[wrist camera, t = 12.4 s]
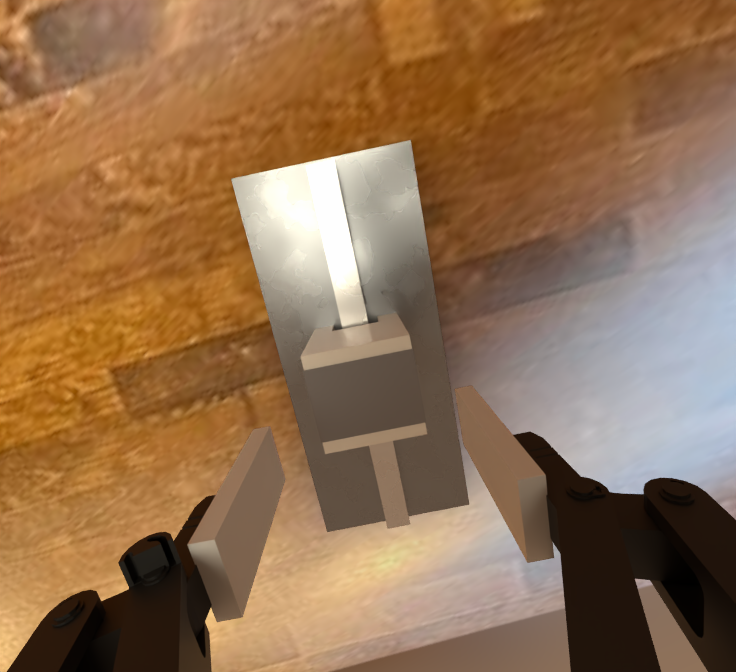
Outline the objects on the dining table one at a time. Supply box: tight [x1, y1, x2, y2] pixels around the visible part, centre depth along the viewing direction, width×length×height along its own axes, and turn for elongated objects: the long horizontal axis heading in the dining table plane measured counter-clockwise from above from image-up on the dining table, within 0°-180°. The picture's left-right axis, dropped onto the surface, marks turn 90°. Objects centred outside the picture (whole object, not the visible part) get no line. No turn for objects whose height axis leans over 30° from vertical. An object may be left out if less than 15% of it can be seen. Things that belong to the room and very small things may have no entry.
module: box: [301, 313, 427, 454], centre depth 24 cm, size 6×6×7 cm
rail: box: [231, 140, 469, 532], centre depth 27 cm, size 28×12×2 cm, turn 12°
